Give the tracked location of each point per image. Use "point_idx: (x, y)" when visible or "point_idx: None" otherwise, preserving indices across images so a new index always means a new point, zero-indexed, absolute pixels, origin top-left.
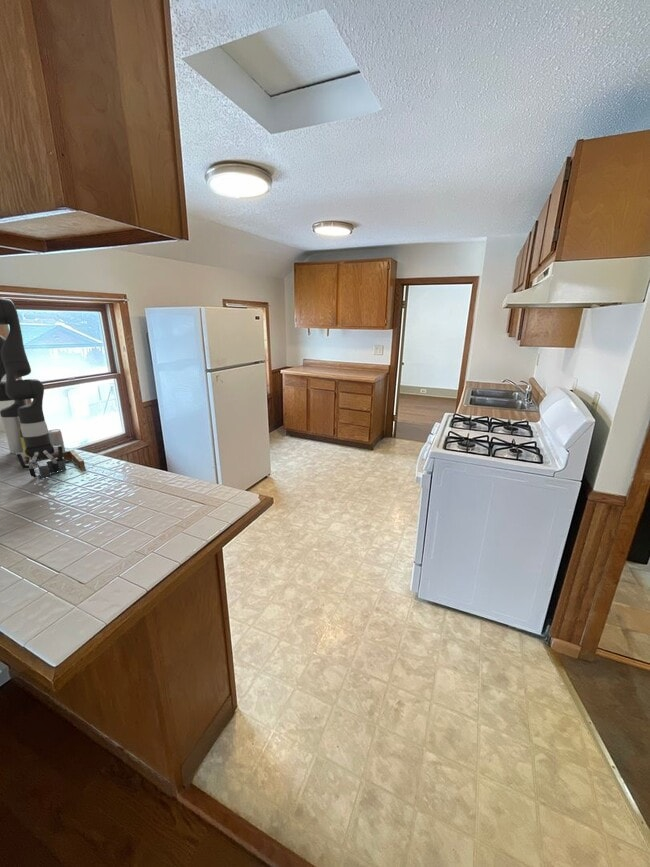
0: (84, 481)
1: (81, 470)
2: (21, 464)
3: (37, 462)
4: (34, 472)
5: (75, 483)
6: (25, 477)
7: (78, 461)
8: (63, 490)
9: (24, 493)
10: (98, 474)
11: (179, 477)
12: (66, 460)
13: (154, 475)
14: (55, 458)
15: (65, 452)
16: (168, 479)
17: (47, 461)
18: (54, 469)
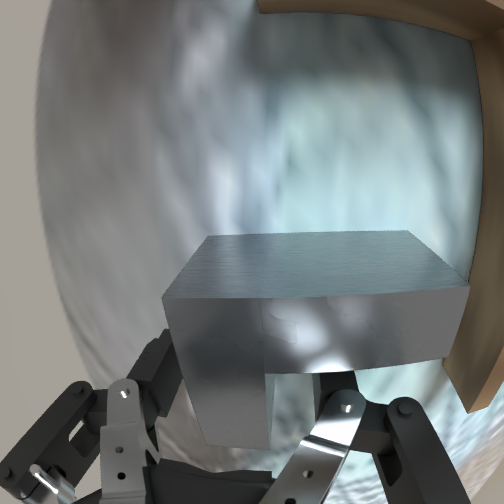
0: (371, 468)
1: (444, 365)
2: (81, 445)
3: (173, 331)
4: (173, 392)
5: (340, 471)
6: (121, 259)
7: (478, 381)
8: None
9: (167, 450)
10: (442, 434)
11: (485, 479)
12: (442, 29)
13: (484, 468)
14: (394, 308)
15: (493, 7)
16: (472, 484)
17: (283, 368)
18: (313, 382)
